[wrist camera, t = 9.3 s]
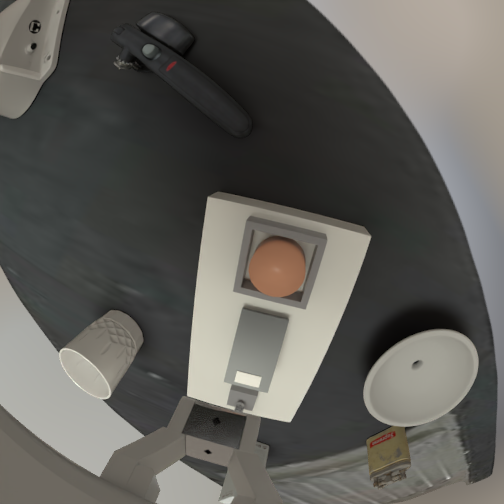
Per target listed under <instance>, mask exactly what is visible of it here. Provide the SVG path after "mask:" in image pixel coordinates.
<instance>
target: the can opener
mask: <svg viewBox="0 0 504 504" xmlns="http://www.w3.org/2000/svg"><path fill="white" fill-rule="evenodd" d="M136 25H137V26H138V27H139V28H140V30H141V31H139V30H138V29H136V28H134V27H133V26H131V25H129V24H122V25H120V26H118V27H116V28H115V29H114V31H113V33H112V36H111V40H112V41H113V42H114V43H116V44H117V45H119V46H120V47H121V48H122V49H123V50H122V52H121V53H120V55H119V56H118V57H116V58H117V60H116V61H114V64H115V66H117V67H119V69H131V68H132V67H133V69H134V70H136V71H138V72H154V73H155V74H156V75H158V76H159V77H160V78H162V79H163V80H164V81H165V82H166V83H168V84H169V85H170V86H171V87H172V88H174V89H175V90H176V91H177V92H178V93H179V94H181V95H182V96H183V97H184V98H185V99H186V100H188V101H189V102H190V103H191V104H192V105H194V106H195V107H196V108H197V109H198V110H200V111H201V112H202V113H203V114H205V115H206V116H207V117H208V118H210V119H211V120H212V121H213V122H215V123H216V124H217V125H219V126H220V127H221V128H223V129H224V130H225V131H227V132H228V133H229V134H231V135H232V136H234V137H237V138H243V137H246V136H248V135H249V133H250V132H251V129H252V120H251V117H250V116H249V115H248V113H247V112H246V111H245V110H244V109H243V108H242V107H241V106H240V105H239V104H238V103H237V102H236V101H235V100H234V99H233V98H232V97H231V96H230V95H229V94H228V93H226V92H225V91H224V90H223V89H222V88H221V87H220V86H219V85H217V84H216V83H215V82H214V81H213V80H212V79H210V78H209V77H208V76H207V75H206V74H204V73H203V72H202V71H200V70H199V69H198V68H196V67H195V66H194V65H193V64H191V63H190V62H188V61H187V60H185V59H184V58H182V57H181V56H182V55H183V54H184V53H185V52H186V50H187V49H188V48H189V47H190V45H191V44H192V43H193V41H194V37H193V36H192V34H191V33H190V32H189V31H188V30H187V28H186V27H185V26H183V25H182V24H181V23H180V22H178V21H177V20H175V19H174V18H171V17H170V16H167V15H165V14H162V13H158V12H151V13H150V14H148V15H146V16H145V17H144V18H142V19H141V20H139V21H138V22H137V23H136ZM179 55H180V56H179Z"/></svg>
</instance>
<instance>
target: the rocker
mask: <svg viewBox="0 0 504 504" xmlns="http://www.w3.org/2000/svg"><path fill="white" fill-rule="evenodd" d="M288 323H289V319H288V318H284V317H280V316H276V315H272V314H268V313H264V312H260V311H256V310H252V309H248V308H244V307H243V308H242V311H241V315H240V319H239V323H238V327H237V331H236V334H235V338H234V342H233V346H232V350H231V354H230V358H229V362H228V366H227V370H226V374H225V378H224V382H226V383H229V384H233V385H237V386H241V387H244V388H248V389H252V390H256V391H261V392H265V393H268V391H269V387H270V384H271V381H272V378H273V374H274V371H275V368H276V365H277V361H278V358H279V354H280V351H281V347H282V344H283V340H284V337H285V333H286V330H287V326H288Z"/></svg>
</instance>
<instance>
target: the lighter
mask: <svg viewBox="0 0 504 504" xmlns="http://www.w3.org/2000/svg"><path fill="white" fill-rule="evenodd" d="M366 443H367V450H368V462H369V475H370V480H371V481H374V484H373V485H374V487H378V489H382V488H383V487H384V486H386V485H389V484H391V483H394V482H396V481H401V480H403V479H405V478H406V474H405V471H406V470H407V469H409V468H410V467H411V462H410V461H411V459H410V453H409V448H408V442H407V437H406V433H405V427H400V426H392V427H390V428H388V429H386V430H384V431H382V432H380V433H378V434H376V435H374V436H372V437H370V438H369V439H368V440H367V441H366ZM399 473H400V474H399ZM397 478H399V479H398V480H396V479H397ZM394 480H395V481H394ZM383 484H384V485H383Z"/></svg>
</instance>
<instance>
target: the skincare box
mask: <svg viewBox="0 0 504 504" xmlns="http://www.w3.org/2000/svg"><path fill="white" fill-rule="evenodd" d="M268 451H269V446H268V445H266V444H263V443H260V442H257V441H256V446H255V451H254V453H256V454H258V455H259V457H260V459H261V461H262V463H263V465H264V467H265V466H266V461H267V456H268ZM236 496H238V494H237V492H236V489H235V486H234V484H233V481H232V479H231V476H230V473H229V470H228V471H227V475H226V478H225V481H224V485H223V488H222V491H221V494H220V497H219V502H222V503H225V504H230V503H231V502H232V500H233V499H234V497H236Z"/></svg>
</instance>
